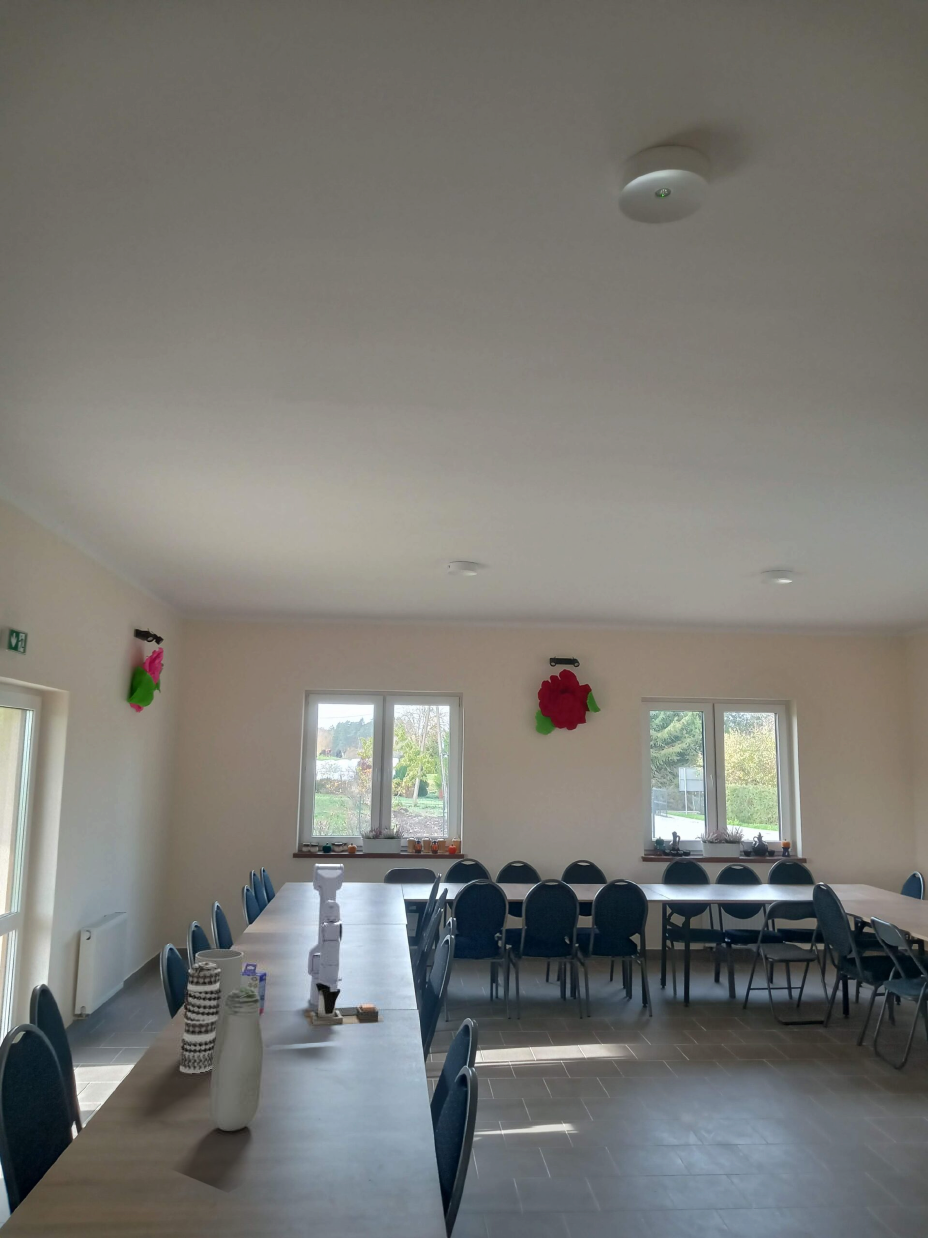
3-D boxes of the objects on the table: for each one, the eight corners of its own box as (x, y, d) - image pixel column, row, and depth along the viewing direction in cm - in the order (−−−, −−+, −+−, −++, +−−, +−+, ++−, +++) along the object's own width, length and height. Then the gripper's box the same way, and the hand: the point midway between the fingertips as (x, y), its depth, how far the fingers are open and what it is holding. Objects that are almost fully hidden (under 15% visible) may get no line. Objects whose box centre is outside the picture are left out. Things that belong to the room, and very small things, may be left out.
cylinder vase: (245, 1049, 231) (252, 952, 235) (217, 1063, 220) (225, 961, 224) (206, 1043, 235) (213, 947, 240) (177, 1056, 224) (185, 956, 228)
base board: (302, 1014, 265) (303, 1002, 265) (372, 1010, 271) (373, 999, 272) (309, 1029, 250) (310, 1017, 250) (383, 1025, 256) (383, 1013, 257)
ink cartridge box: (264, 1013, 264) (268, 964, 267) (257, 1018, 259) (260, 968, 261) (235, 1011, 266) (238, 962, 269) (227, 1015, 261) (230, 965, 263)
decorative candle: (181, 1076, 210) (190, 969, 214) (174, 1064, 218) (183, 961, 222) (218, 1071, 214) (226, 966, 218) (211, 1060, 222) (219, 959, 226)
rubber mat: (335, 1009, 268) (335, 1008, 268) (360, 1008, 270) (360, 1007, 270) (339, 1016, 260) (339, 1015, 260) (365, 1015, 263) (365, 1014, 263)
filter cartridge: (316, 1018, 258) (317, 990, 259) (332, 1016, 260) (333, 988, 261) (319, 1022, 253) (321, 994, 254) (336, 1021, 255) (337, 993, 256)
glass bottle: (232, 1142, 174) (242, 997, 179) (198, 1130, 180) (209, 989, 185) (267, 1126, 183) (276, 988, 188) (233, 1114, 188) (243, 980, 193)
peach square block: (360, 1014, 261) (360, 1004, 262) (371, 1014, 262) (372, 1004, 263) (362, 1018, 258) (363, 1007, 258) (374, 1017, 259) (374, 1007, 259)
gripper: (348, 968, 254) (345, 1016, 252) (336, 957, 267) (333, 1003, 265) (325, 969, 251) (322, 1018, 249) (314, 959, 265) (311, 1005, 262)
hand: (326, 1011), depth 257 cm, fingers closed on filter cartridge, 5 cm apart
